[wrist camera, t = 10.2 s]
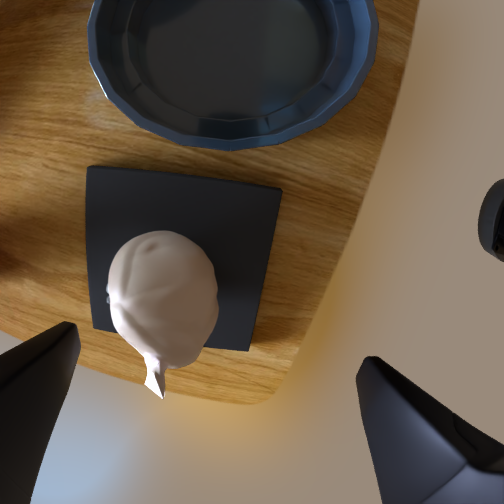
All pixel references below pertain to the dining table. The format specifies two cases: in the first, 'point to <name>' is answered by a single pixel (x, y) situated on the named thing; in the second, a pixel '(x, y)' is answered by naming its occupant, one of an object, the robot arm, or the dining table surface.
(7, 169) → the dining table surface
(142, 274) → the garlic bulb
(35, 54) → the dining table surface
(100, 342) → the dining table surface
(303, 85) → the glazed bowl
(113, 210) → the coaster
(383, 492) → the robot arm
